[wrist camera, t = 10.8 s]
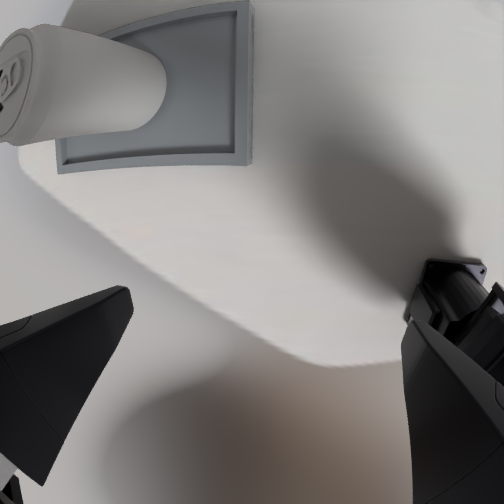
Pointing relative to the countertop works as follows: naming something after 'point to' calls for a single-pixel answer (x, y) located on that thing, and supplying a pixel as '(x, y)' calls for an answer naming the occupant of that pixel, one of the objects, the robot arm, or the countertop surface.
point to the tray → (183, 95)
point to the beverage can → (74, 85)
